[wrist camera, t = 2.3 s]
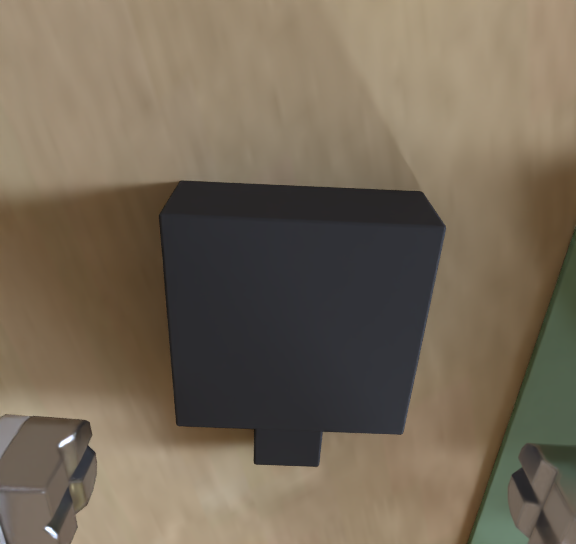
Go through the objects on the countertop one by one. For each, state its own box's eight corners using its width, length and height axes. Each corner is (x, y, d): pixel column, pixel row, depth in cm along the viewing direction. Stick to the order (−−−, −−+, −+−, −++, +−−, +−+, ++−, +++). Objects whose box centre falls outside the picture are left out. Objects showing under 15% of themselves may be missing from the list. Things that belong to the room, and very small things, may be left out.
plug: (185, 170, 13) (157, 213, 10) (416, 180, 13) (448, 226, 10) (198, 415, 17) (181, 491, 14) (375, 422, 17) (390, 499, 14)
